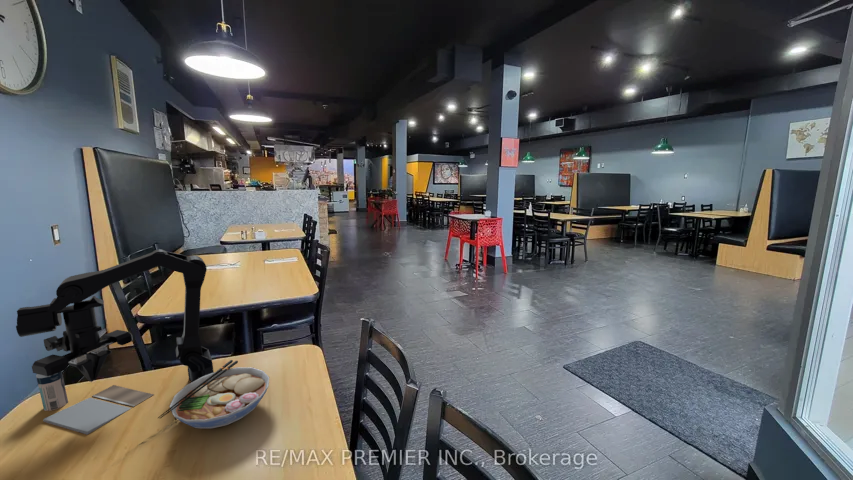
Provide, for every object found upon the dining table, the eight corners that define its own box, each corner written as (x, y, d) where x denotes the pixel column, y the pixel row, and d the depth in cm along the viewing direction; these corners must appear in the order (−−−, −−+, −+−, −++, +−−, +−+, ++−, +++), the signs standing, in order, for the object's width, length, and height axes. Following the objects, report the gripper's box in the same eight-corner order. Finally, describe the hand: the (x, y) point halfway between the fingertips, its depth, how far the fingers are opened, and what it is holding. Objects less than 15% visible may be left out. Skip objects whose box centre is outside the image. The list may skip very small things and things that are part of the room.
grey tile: (131, 412, 94) (131, 408, 94) (87, 436, 85) (87, 431, 85) (90, 401, 99) (89, 397, 99) (43, 423, 89) (43, 419, 89)
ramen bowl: (227, 459, 79) (223, 427, 78) (145, 443, 84) (140, 413, 82) (290, 392, 103) (288, 367, 102) (224, 382, 108) (221, 358, 106)
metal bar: (154, 398, 100) (153, 394, 100) (133, 411, 95) (133, 406, 95) (114, 389, 104) (113, 384, 104) (92, 400, 99) (91, 396, 99)
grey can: (74, 404, 98) (66, 365, 95) (55, 415, 93) (45, 375, 91) (59, 403, 98) (50, 364, 96) (39, 414, 94) (29, 373, 91)
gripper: (101, 308, 100) (110, 358, 103) (10, 337, 82) (24, 396, 85) (129, 312, 97) (138, 364, 100) (41, 343, 79) (55, 405, 82)
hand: (92, 380), depth 92 cm, fingers closed
